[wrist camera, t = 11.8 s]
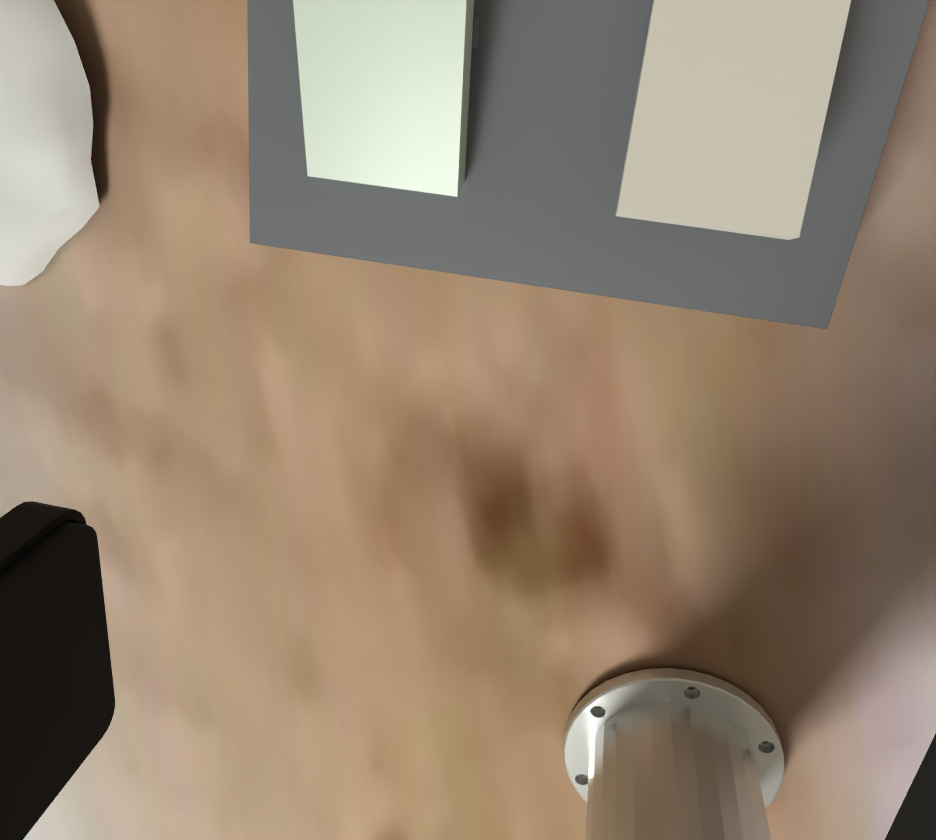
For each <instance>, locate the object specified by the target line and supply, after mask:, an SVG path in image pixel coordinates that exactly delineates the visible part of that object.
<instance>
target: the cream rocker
mask: <svg viewBox="0 0 936 840" xmlns="http://www.w3.org/2000/svg"><path fill="white" fill-rule="evenodd" d="M850 3H851V0H653V4H652V10H651V16H650V21H649V27H648V33H647V39H646V44H645V50H644V56H643V61H642V67H641V73H640V78H639V84H638V90H637V96H636V101H635V107H634V113H633V118H632V124H631V130H630V135H629V141H628V147H627V153H626V158H625V164H624V170H623V175H622V181H621V187H620V193H619V198H618V204H617V210H616V215H615V216H618V217H625V218H633V219H640V220H647V221H655V222H662V223H669V224H676V225H684V226H691V227H698V228H705V229H713V230H720V231H727V232H734V233H742V234H749V235H756V236H764V237H771V238H778V239H785V240H791V239H795V238H799V236H800V232H801V227H802V223H803V218H804V213H805V209H806V204H807V200H808V195H809V191H810V186H811V181H812V177H813V172H814V168H815V163H816V159H817V154H818V150H819V145H820V140H821V136H822V131H823V127H824V122H825V118H826V113H827V108H828V104H829V99H830V95H831V90H832V86H833V81H834V76H835V72H836V67H837V63H838V58H839V54H840V49H841V45H842V40H843V35H844V31H845V26H846V22H847V17H848V13H849V8H850Z"/></svg>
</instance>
